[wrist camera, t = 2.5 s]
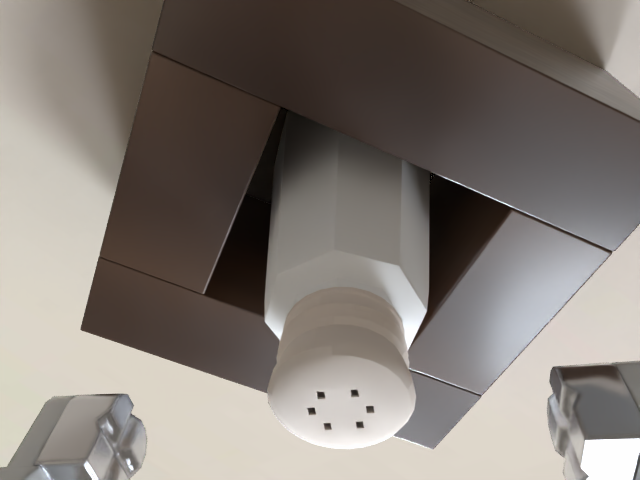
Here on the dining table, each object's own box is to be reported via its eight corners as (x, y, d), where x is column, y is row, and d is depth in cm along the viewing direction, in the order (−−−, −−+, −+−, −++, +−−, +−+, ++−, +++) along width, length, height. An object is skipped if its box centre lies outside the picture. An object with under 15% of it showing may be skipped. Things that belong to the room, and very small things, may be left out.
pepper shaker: (426, 69, 18) (495, 285, 9) (431, 215, 21) (487, 492, 11) (259, 89, 18) (158, 308, 9) (287, 228, 21) (231, 498, 12)
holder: (245, -111, 15) (188, -100, 10) (607, 71, 17) (706, 152, 12) (144, 224, 22) (79, 330, 17) (418, 327, 24) (433, 450, 19)
